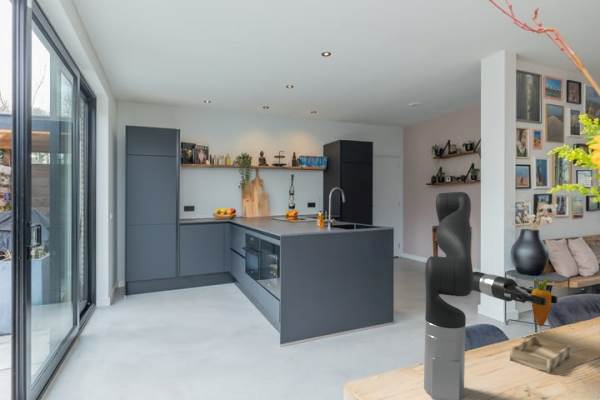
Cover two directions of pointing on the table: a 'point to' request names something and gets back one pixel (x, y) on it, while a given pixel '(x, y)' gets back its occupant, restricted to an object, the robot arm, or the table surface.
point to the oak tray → (540, 354)
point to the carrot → (540, 310)
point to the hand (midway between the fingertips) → (550, 301)
